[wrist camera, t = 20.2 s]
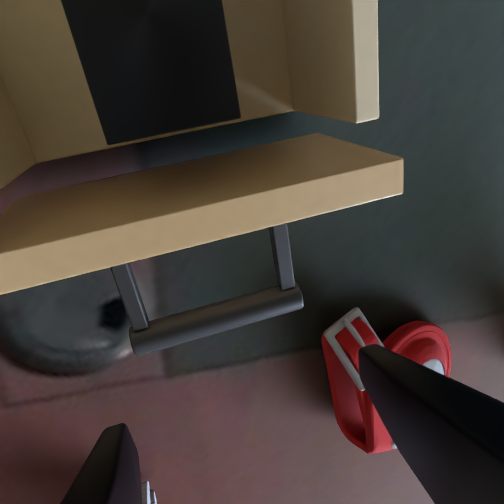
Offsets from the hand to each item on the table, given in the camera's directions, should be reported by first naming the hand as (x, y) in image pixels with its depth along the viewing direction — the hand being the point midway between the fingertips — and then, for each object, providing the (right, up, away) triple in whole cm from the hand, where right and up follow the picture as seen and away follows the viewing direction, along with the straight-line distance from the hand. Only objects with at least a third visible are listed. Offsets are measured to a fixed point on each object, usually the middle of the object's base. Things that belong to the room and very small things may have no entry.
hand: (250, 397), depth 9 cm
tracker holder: (+8, -4, +18) cm, 20 cm away
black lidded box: (-4, +11, +5) cm, 13 cm away
